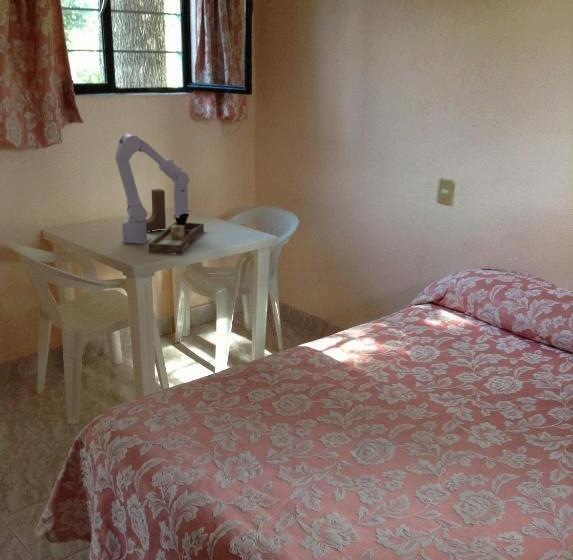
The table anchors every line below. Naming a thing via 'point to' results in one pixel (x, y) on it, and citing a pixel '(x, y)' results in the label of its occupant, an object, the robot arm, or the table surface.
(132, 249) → the table surface
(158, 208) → the wooden block
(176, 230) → the maple block
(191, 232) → the track
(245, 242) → the table surface
